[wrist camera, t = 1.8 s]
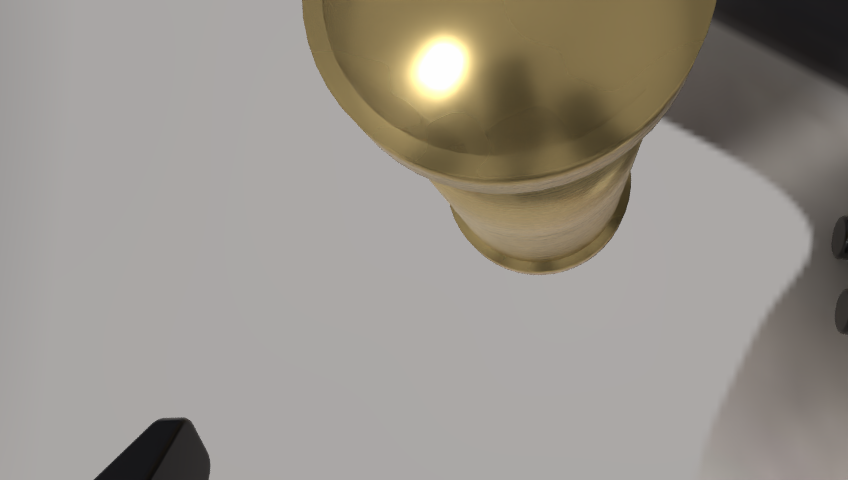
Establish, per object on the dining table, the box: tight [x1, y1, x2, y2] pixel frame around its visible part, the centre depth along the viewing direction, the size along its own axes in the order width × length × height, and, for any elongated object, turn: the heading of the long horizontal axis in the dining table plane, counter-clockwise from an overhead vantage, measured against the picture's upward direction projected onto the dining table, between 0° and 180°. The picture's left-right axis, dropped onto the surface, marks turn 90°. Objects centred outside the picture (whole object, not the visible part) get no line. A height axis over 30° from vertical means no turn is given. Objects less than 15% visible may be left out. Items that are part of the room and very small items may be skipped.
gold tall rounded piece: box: [302, 0, 716, 275], centre depth 15 cm, size 5×5×13 cm
